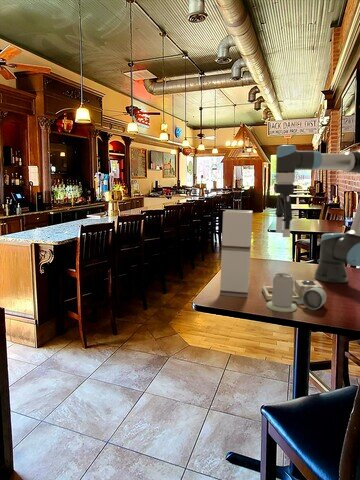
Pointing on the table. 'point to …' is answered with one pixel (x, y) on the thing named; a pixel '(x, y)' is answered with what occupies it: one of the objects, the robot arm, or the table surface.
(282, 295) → the can
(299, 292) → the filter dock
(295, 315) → the table surface
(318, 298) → the ceramic mug
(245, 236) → the tall seamed white tower
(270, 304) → the pad
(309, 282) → the glossy grey oval piece
